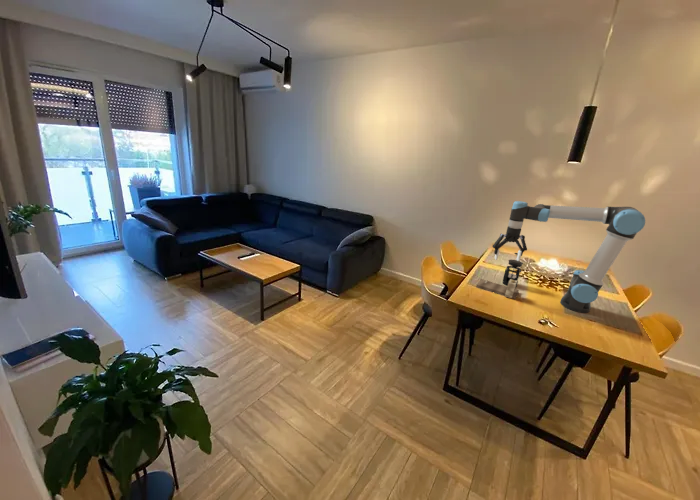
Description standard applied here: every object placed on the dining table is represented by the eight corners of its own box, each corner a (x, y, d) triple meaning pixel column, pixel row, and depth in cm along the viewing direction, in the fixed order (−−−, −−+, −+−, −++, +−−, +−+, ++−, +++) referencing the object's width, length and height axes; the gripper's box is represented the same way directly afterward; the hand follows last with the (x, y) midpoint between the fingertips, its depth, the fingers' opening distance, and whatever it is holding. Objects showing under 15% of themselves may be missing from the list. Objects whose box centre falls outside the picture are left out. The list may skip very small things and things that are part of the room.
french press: (510, 280, 218) (518, 250, 210) (521, 286, 210) (529, 255, 202) (497, 281, 214) (505, 251, 206) (507, 288, 206) (516, 256, 198)
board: (518, 292, 200) (518, 289, 200) (515, 299, 191) (516, 296, 190) (480, 281, 213) (480, 278, 212) (475, 287, 204) (476, 284, 203)
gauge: (513, 293, 197) (517, 279, 193) (511, 298, 191) (515, 283, 187) (506, 291, 199) (510, 277, 195) (504, 296, 193) (508, 281, 189)
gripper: (532, 226, 187) (524, 259, 194) (491, 224, 188) (484, 256, 195) (538, 230, 180) (529, 263, 187) (496, 227, 181) (488, 260, 188)
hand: (506, 259), depth 191 cm, fingers open, 13 cm apart
